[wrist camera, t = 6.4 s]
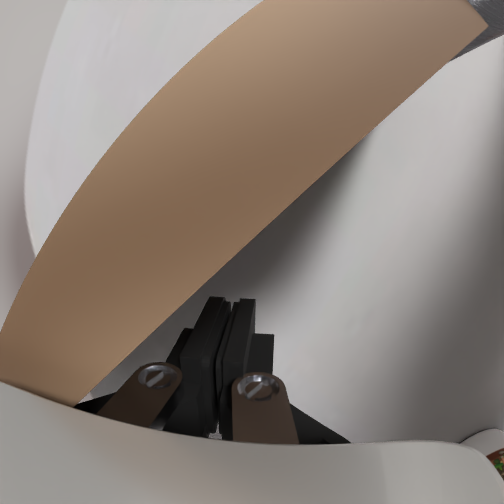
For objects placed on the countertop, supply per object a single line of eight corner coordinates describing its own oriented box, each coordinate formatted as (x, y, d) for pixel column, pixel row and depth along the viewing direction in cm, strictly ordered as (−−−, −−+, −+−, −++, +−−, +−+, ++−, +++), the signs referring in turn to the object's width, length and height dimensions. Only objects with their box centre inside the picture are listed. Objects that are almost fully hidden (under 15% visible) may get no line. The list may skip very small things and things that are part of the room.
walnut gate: (357, 113, 12) (501, 32, 2) (90, 369, 16) (4, 480, 7) (316, 71, 11) (385, -79, 2) (61, 341, 16) (-37, 439, 7)
